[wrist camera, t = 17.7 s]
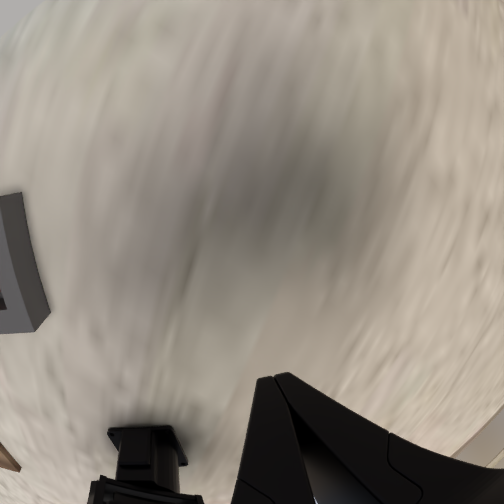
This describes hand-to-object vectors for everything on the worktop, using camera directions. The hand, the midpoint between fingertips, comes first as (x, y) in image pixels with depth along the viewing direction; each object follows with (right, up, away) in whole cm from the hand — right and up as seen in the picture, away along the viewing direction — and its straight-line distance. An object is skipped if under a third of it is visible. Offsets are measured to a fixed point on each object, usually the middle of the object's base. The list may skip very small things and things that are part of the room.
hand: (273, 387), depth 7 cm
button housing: (-20, +3, +9) cm, 22 cm away
